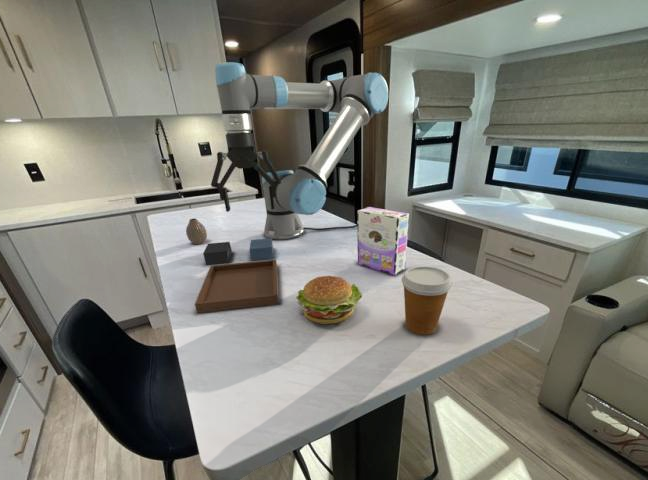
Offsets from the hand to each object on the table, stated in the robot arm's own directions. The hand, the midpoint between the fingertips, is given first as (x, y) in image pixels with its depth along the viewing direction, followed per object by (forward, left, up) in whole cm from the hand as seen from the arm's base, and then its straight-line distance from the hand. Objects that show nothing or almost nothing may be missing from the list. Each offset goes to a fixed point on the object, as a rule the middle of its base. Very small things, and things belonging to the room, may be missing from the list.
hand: (250, 209), depth 99 cm
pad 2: (-2, 0, -15) cm, 15 cm away
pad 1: (+12, 0, -15) cm, 20 cm away
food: (-18, +41, -15) cm, 47 cm away
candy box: (-37, +19, -15) cm, 44 cm away
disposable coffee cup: (-36, +51, -15) cm, 64 cm away
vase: (+22, -19, -15) cm, 33 cm away
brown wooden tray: (+3, +23, -15) cm, 28 cm away
